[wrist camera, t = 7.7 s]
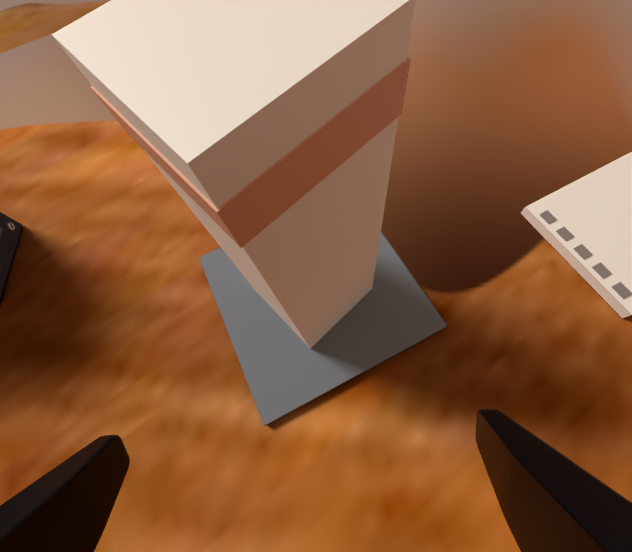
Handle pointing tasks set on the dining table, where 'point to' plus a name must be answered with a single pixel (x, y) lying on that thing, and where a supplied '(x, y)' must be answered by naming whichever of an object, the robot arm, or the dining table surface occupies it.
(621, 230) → the cream block pink end
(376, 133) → the beige tall block
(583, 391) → the dining table surface
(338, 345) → the mat
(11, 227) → the small box
